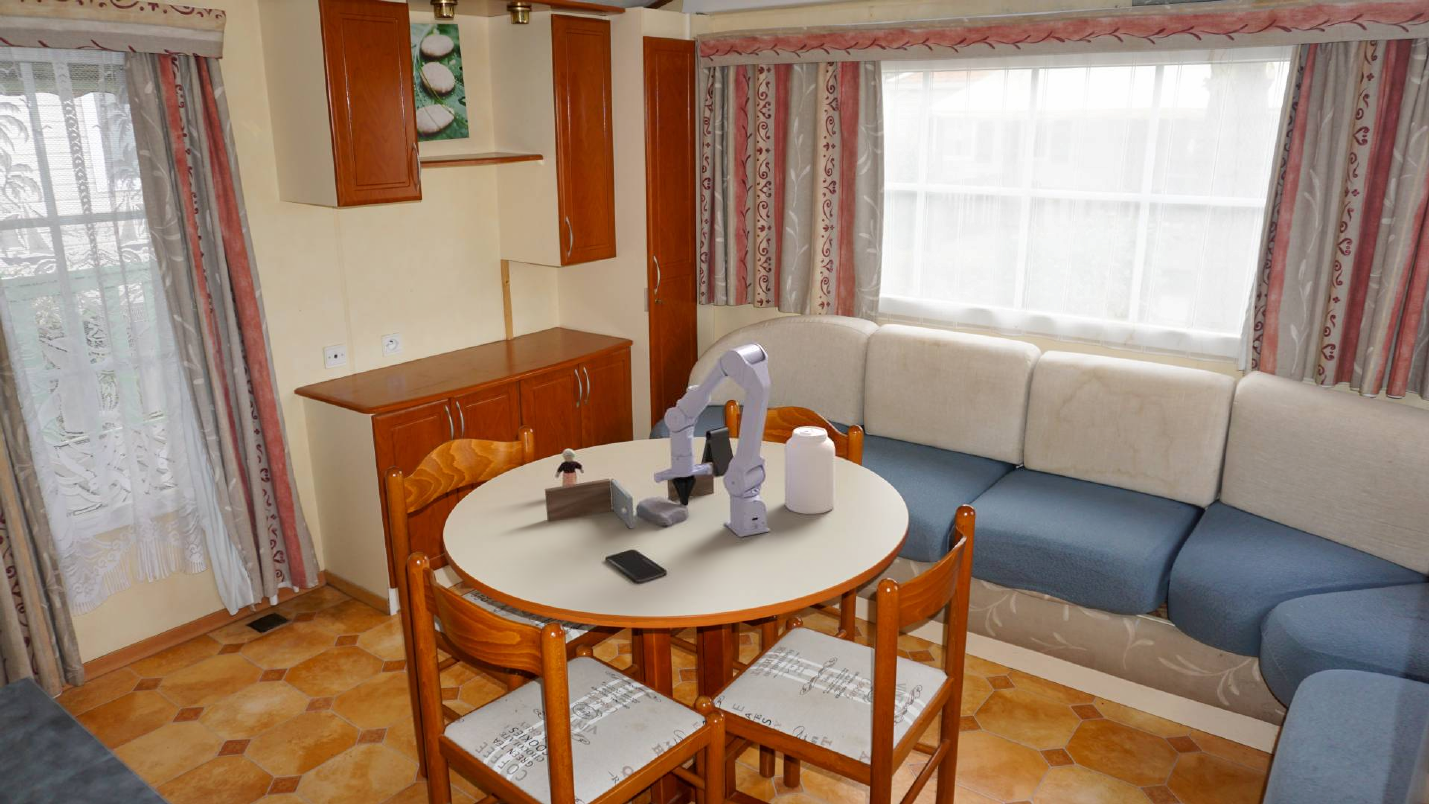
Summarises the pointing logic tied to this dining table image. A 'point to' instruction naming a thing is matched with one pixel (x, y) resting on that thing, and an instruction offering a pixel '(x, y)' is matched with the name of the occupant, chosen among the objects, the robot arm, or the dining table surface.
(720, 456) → the phone stand
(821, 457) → the can
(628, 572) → the phone
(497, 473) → the dining table surface
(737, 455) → the robot arm
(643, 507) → the stone block
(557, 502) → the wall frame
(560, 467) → the grandmother figurine
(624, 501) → the door
